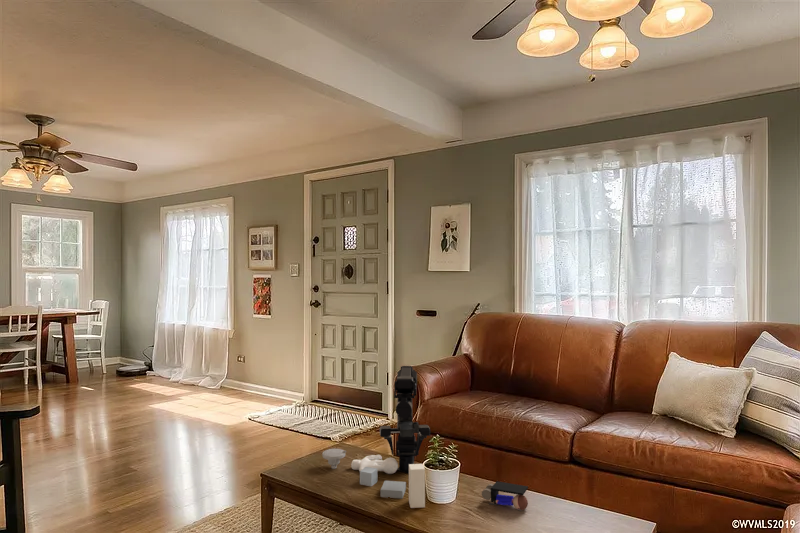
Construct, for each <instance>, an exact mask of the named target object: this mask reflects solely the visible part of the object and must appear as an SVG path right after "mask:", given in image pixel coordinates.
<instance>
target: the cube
mask: <svg viewBox="0 0 800 533" xmlns="http://www.w3.org/2000/svg"><path fill="white" fill-rule="evenodd" d="M377 482H378V471H377V468H371V467H365V468H364V469H362V470H361V471H360V472H359V485H362V486H367V487H373V486H374V485H375V484H377Z"/></svg>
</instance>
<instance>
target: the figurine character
mask: <svg viewBox="0 0 800 533" xmlns="http://www.w3.org/2000/svg"><path fill="white" fill-rule="evenodd" d="M528 489H529V486H528V485H522V484H515V483H509V482H502V481H499V480H497V481H495V483H494V484H492V483H490V484H487V486H486V487H485V488H484V489H483V490H482V491H481V496H482V498H483V499H484V500H486V501H489V500H490V502H488V505H494V506H497V505H501V506H510V507H514V508H515V509H516V510H518V511H524V510H526V509H527V507H528V506H529V505H528V504H529V501H528V498H527V496H525V493H526V492H527V491H528ZM500 492H502V493H507V494H513V495H514V496H513V495H506V494H499V493H500Z"/></svg>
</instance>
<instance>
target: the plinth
mask: <svg viewBox="0 0 800 533" xmlns="http://www.w3.org/2000/svg"><path fill="white" fill-rule="evenodd" d="M406 489H407V482H406V481H395V480H384V481H383V484H382V486H381V487H380V497H381V498H388V497H390V498H392V499H403V498H404V495H405V493H406ZM390 498H389V499H390Z"/></svg>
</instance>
